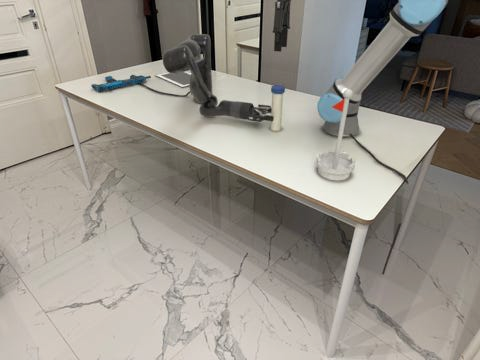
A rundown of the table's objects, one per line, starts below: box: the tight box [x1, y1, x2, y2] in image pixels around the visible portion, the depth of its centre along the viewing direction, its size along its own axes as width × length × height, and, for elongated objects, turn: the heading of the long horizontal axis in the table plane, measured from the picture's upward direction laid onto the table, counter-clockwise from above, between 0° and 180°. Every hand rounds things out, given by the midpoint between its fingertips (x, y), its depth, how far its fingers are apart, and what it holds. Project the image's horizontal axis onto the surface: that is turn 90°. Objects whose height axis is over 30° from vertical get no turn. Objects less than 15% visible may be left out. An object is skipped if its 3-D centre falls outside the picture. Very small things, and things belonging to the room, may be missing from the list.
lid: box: [270, 84, 286, 94], centre depth 142 cm, size 6×6×2 cm
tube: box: [270, 92, 284, 132], centre depth 147 cm, size 5×5×19 cm
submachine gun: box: [90, 74, 152, 92], centre depth 206 cm, size 34×4×25 cm
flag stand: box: [315, 89, 356, 181], centre depth 112 cm, size 13×13×30 cm
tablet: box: [155, 71, 191, 88], centre depth 216 cm, size 32×20×1 cm, turn 41°
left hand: (276, 115), depth 148 cm, fingers open, 8 cm apart
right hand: (280, 48), depth 133 cm, fingers open, 8 cm apart
